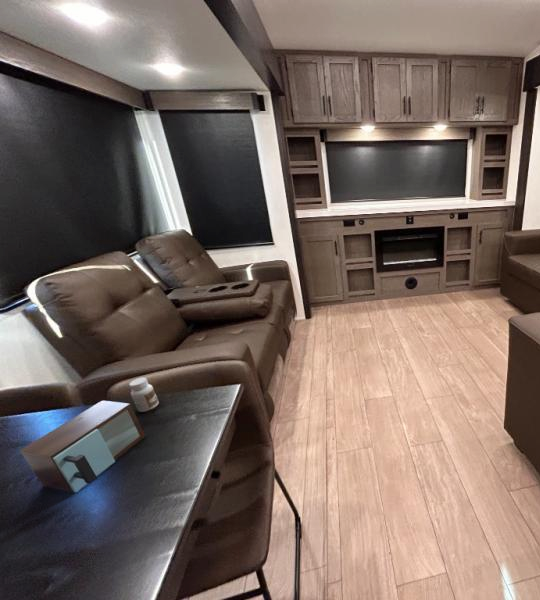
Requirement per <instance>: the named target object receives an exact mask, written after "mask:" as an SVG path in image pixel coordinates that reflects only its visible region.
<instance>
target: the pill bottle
mask: <svg viewBox="0 0 540 600" xmlns="http://www.w3.org/2000/svg"><path fill="white" fill-rule="evenodd" d="M128 386H129V387H130V390H131V391H130V397H131V398H132V400H133V402H134V406H135V407H136V410H137V411H138V412H140V413H145V412H149V411H151V410H153V409H155V408H157V406H158V405H159V403H160V402H159V398H158V396H157V394H156V392H155V389H154V386H153V385H152V384H150V383H149V382H148V379H147V378H146V377H139V378H136V379H134V380H132V381H130V382H129V384H128Z"/></svg>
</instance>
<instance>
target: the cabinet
mask: <svg viewBox="0 0 540 600" xmlns="http://www.w3.org/2000/svg"><path fill="white" fill-rule="evenodd" d="M95 429H98V430H99V432H100V433H101V435H102V437H103V439H104V441H105V443H106V445H107V447H108V449H109V450H110V452H111V454H112V456H113V458H114V460H115V461H116V460H117V459H119V458H120V457H121V456H122V455H123V454H125V453H126V452H127V451H128V450H130V449H131V448H133V447H134V446H135V445H136V444H138V443H139V442H140V441H141V440H142V439H143V438H145V437H146V434H145V433H144V430H143V428H142V426H141V423H140V422H139V420H138V418H137V415H136V413H135V412H134V409H133V407H132V405H131V403H128V402H127V403H126V402H120V401H112V400H101V401H99V402H97V403H96V404H94V405H92V406H90V407H89V408H88V409H85V410H84V411H82V412H81V413H79V414H78V415H76V416H74V417H72V418H71V419H70V420H68V421H66V422H64V423H63V424H61V425H60V426H58V427H56V428H55V429H53V430H51V431H50V432H48V433H46V434H44V435H43V436H41V437H40V438H38V439H36V440H35V441H33V442H31V443H29V444H28V445H26V446H25V447H23V448H22V449H20V450H19V452H20V454H21V456H23V458H24V459H25V461H26V462H27V464H28V465H29V467H30V468H31V470H32V471H33V473H34V474H35V476H36V477H37V479H38V480H39V483H41V485H42V487H45V488H50V489H54V490H59V491H61V492H62V491H63V492H67V493H71V494H74V493H75V492H73V490H72V488H71V487H70V485H69V484H68V482H67V480H66V479H65V477H64V476H63V474H62V472H61V471H60V469H59V468H58V466H57V464H56V463H55V461H54V460H53V458H54V457H55V456H57V455H58V454H60V453H61V452H63V451H64V450H66V449H67V448H69V447H70V446H72V445H73V444H75V443H76V442H78V441H79V440H81V439H82V438H84V437H85V436H87V435H88V434H89V433H91V432H92V431H94V430H95Z"/></svg>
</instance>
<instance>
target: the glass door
mask: <svg viewBox="0 0 540 600" xmlns="http://www.w3.org/2000/svg"><path fill="white" fill-rule="evenodd" d="M53 460H54V461H55V463H56V464H57V466H58V468H59V469H60V471H61V472H62V474H63V476H64V477H65V479H66V480H67V482H68V484H69V485H70V487H71V488H72V490H73V492H74V493H77V492H79V491H80V490H81V489H83V488H84V487H85V486H87V485H91V484H92V483H94V482H95V481H96V480H98V476H99V475H100V474H102V473H103V472H104V471H106V470H107V469H108V468H109V467H110V466H112V465H113V464H115V463H116V460H114V458H113V456H112V454H111V452H110V450H109V449H108V447H107V445H106V443H105V441H104V439H103V437H102V435H101V433H100V432H99V430H98V429H95V430H94V431H92V432H91V433H89V434H88V435H87V436H85V437H84V438H82V439H81V440H79V441H78V442H76V443H75V444H73V445H72V446H70V447H69V448H67V449H66V450H64V451H63V452H61V453H60V454H58V455H57V456H55V457H54V458H53Z"/></svg>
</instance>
